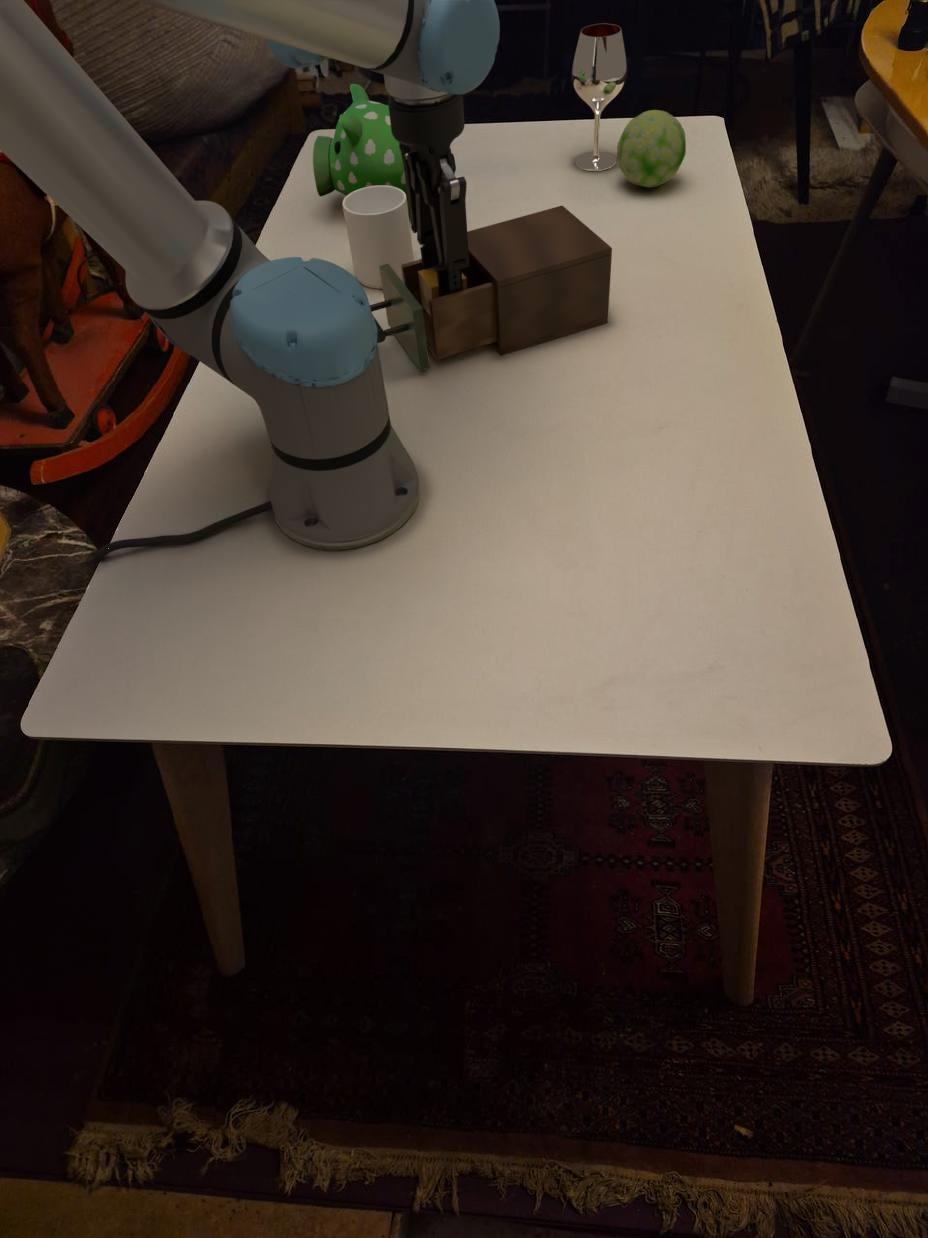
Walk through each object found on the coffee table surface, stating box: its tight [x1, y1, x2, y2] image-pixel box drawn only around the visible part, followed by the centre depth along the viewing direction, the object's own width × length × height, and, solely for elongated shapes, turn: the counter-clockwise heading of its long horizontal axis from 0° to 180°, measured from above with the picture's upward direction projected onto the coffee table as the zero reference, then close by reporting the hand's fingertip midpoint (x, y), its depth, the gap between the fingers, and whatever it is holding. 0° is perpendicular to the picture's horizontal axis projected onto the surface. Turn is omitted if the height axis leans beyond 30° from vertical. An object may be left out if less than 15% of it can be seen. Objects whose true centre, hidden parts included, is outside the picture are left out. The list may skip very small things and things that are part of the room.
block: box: [418, 267, 467, 316], centre depth 101 cm, size 4×4×4 cm
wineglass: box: [570, 23, 628, 172], centre depth 129 cm, size 8×8×18 cm
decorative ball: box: [616, 109, 687, 189], centre depth 126 cm, size 10×10×10 cm
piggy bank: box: [312, 83, 410, 217], centre depth 126 cm, size 14×18×15 cm
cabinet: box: [467, 205, 613, 356], centre depth 105 cm, size 15×13×10 cm
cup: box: [341, 185, 415, 290], centre depth 115 cm, size 8×12×10 cm
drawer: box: [370, 257, 498, 372], centre depth 103 cm, size 18×11×8 cm, turn 113°
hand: (445, 306), depth 103 cm, fingers closed on block, 4 cm apart
